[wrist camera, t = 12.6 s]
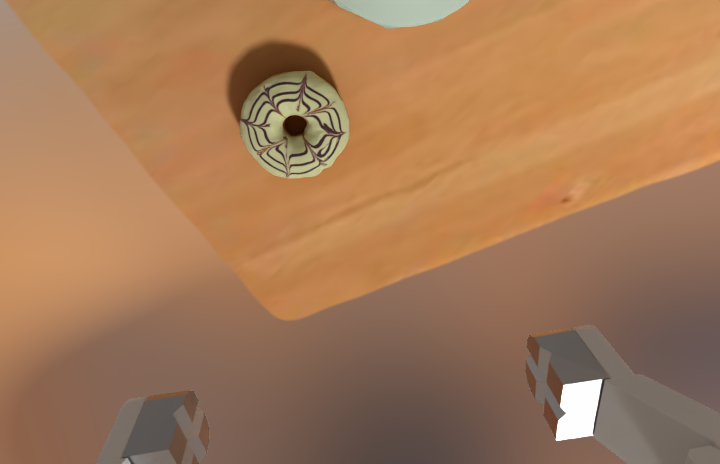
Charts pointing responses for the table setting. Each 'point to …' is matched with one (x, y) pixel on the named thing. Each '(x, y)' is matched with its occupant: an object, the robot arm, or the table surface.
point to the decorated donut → (285, 99)
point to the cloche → (401, 10)
